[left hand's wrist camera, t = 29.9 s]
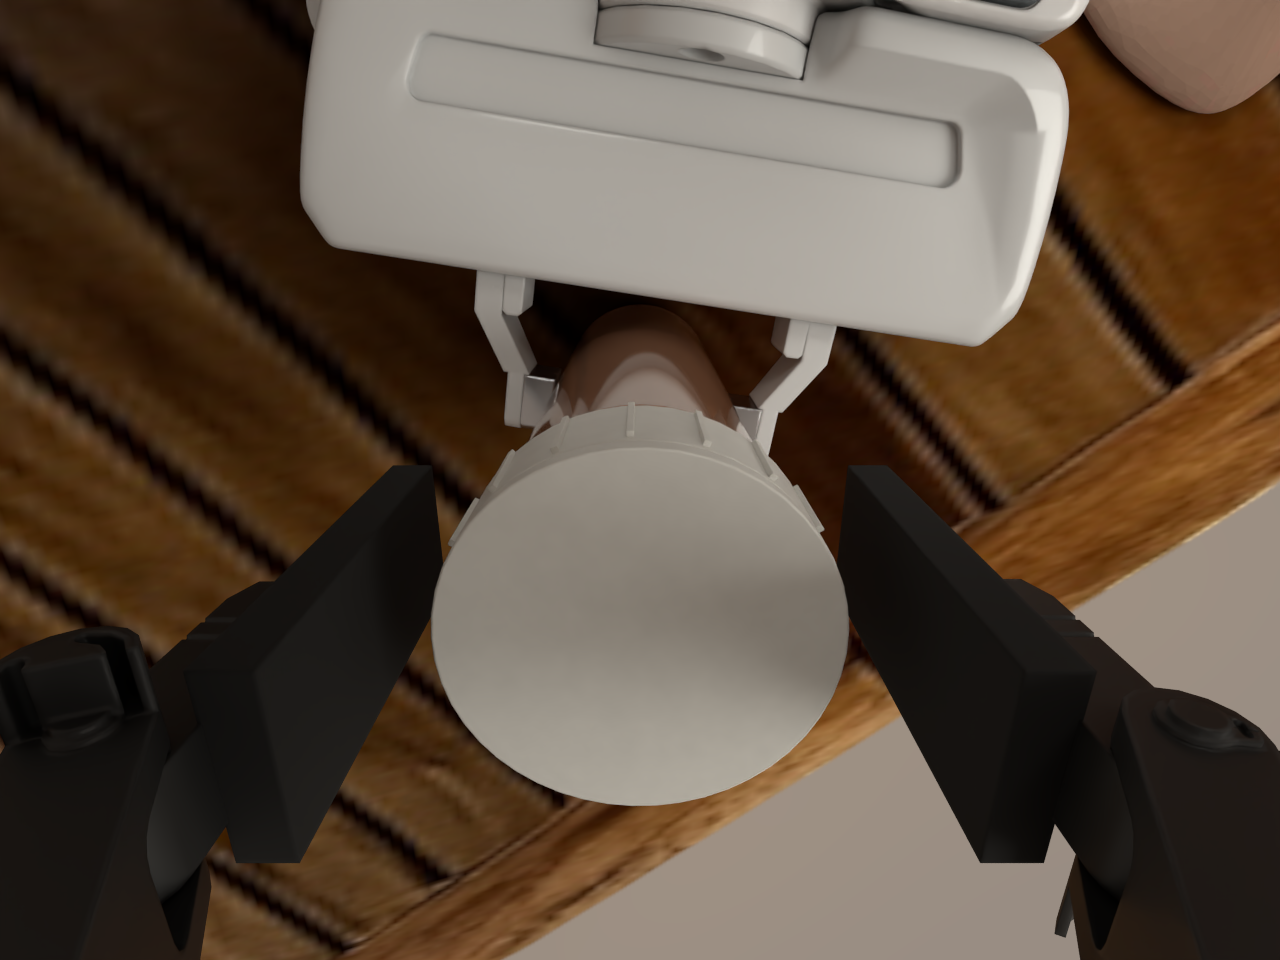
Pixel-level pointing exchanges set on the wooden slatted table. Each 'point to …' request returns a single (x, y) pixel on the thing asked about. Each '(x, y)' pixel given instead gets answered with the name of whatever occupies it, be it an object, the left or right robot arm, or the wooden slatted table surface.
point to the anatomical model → (1193, 46)
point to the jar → (640, 370)
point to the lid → (639, 609)
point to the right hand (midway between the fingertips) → (637, 440)
